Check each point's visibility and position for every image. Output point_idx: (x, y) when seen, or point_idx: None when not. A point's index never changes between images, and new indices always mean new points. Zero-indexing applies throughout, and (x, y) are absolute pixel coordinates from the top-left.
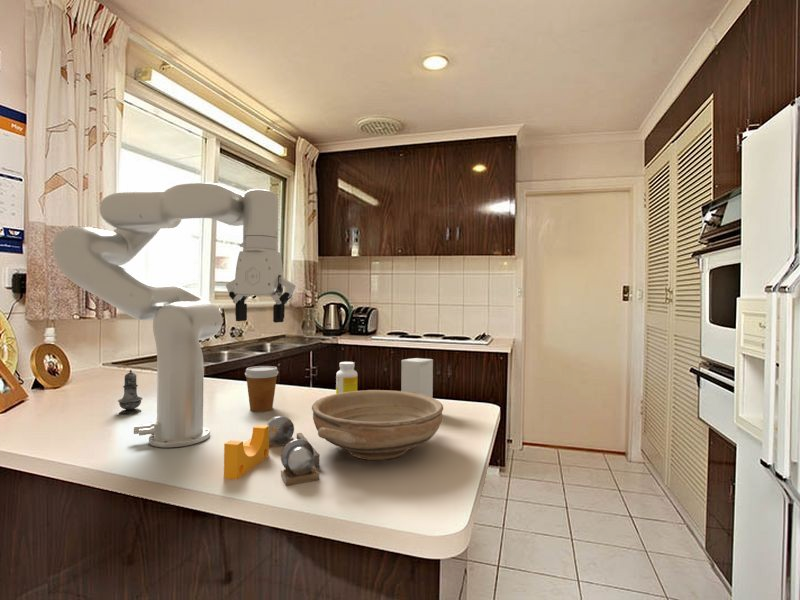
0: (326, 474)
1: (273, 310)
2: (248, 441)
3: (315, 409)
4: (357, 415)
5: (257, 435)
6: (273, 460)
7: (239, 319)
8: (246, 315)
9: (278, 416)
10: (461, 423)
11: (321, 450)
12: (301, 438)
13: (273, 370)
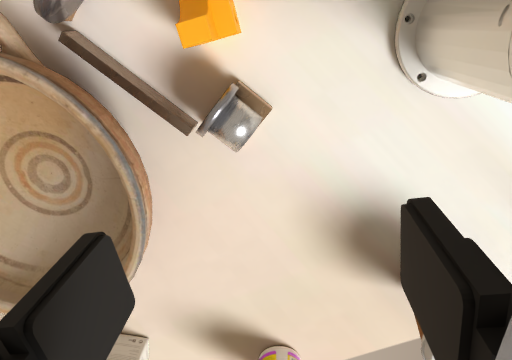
0: (40, 19)
1: (58, 286)
2: (229, 20)
3: (63, 98)
4: (122, 236)
5: (194, 15)
6: (172, 27)
7: (403, 214)
8: (411, 305)
9: (240, 139)
10: None
11: (134, 117)
12: (160, 106)
13: (430, 353)
